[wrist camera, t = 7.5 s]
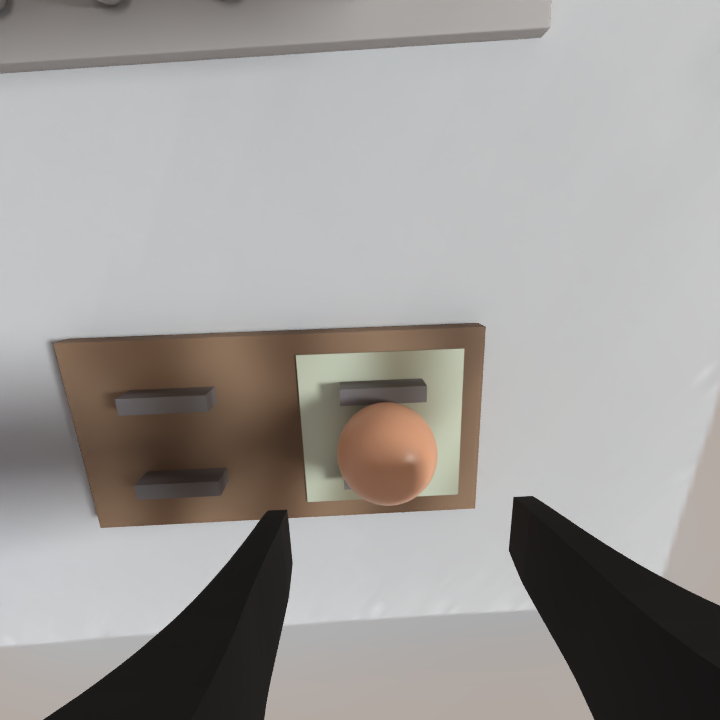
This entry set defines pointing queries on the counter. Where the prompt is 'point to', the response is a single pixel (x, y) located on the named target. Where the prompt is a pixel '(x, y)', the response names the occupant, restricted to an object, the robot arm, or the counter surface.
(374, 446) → the terracotta ball
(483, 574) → the counter surface
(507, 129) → the counter surface
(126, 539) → the counter surface
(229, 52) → the test tube rack
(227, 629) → the robot arm
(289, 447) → the cradle board
